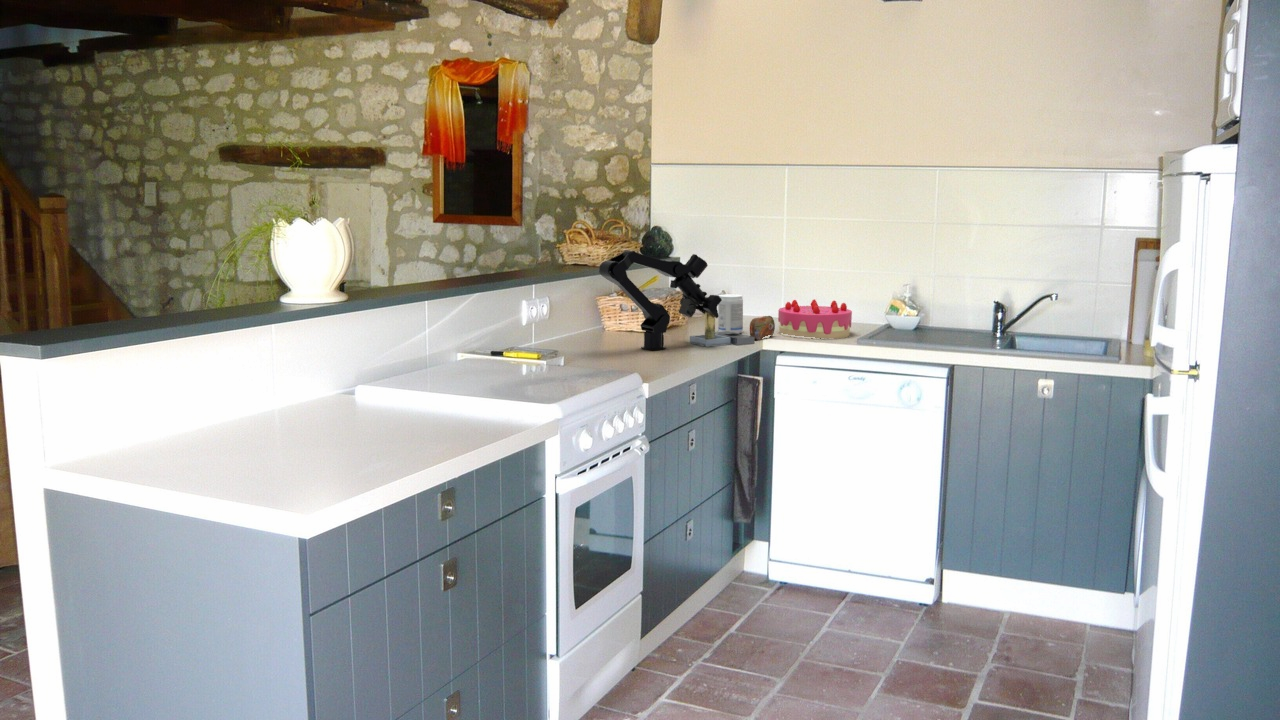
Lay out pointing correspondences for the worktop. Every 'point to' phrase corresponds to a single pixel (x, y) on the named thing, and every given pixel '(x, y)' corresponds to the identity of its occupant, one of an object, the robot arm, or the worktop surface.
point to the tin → (762, 327)
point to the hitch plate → (737, 338)
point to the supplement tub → (730, 313)
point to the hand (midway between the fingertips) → (713, 316)
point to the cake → (815, 320)
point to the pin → (709, 326)
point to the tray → (710, 340)
